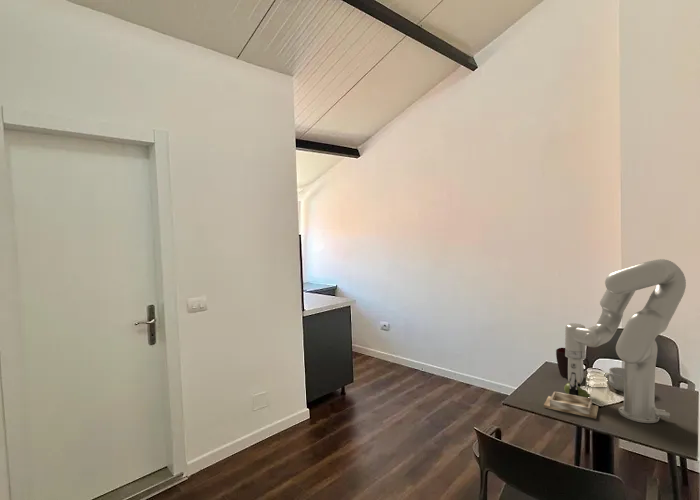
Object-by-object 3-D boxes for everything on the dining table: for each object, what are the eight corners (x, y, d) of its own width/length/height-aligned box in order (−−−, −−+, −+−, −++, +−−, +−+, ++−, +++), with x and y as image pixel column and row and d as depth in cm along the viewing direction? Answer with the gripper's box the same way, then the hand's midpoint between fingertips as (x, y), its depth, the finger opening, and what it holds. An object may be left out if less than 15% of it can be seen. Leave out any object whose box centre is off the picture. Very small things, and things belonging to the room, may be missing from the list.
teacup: (629, 384, 186) (629, 367, 186) (643, 394, 175) (644, 376, 175) (596, 384, 188) (596, 366, 187) (609, 393, 177) (609, 375, 176)
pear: (569, 379, 179) (593, 390, 171) (567, 390, 180) (591, 402, 172) (562, 382, 176) (586, 393, 168) (560, 393, 177) (584, 405, 169)
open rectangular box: (598, 408, 163) (598, 399, 163) (596, 418, 155) (596, 409, 155) (548, 398, 174) (548, 390, 174) (543, 407, 165) (543, 398, 165)
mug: (559, 370, 206) (559, 346, 205) (591, 376, 197) (591, 352, 196) (553, 376, 199) (553, 351, 198) (586, 383, 189) (586, 357, 189)
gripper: (583, 360, 165) (582, 404, 166) (587, 349, 179) (587, 390, 180) (562, 357, 169) (561, 400, 170) (568, 346, 183) (567, 386, 184)
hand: (574, 394), depth 175 cm, fingers closed on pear, 6 cm apart
